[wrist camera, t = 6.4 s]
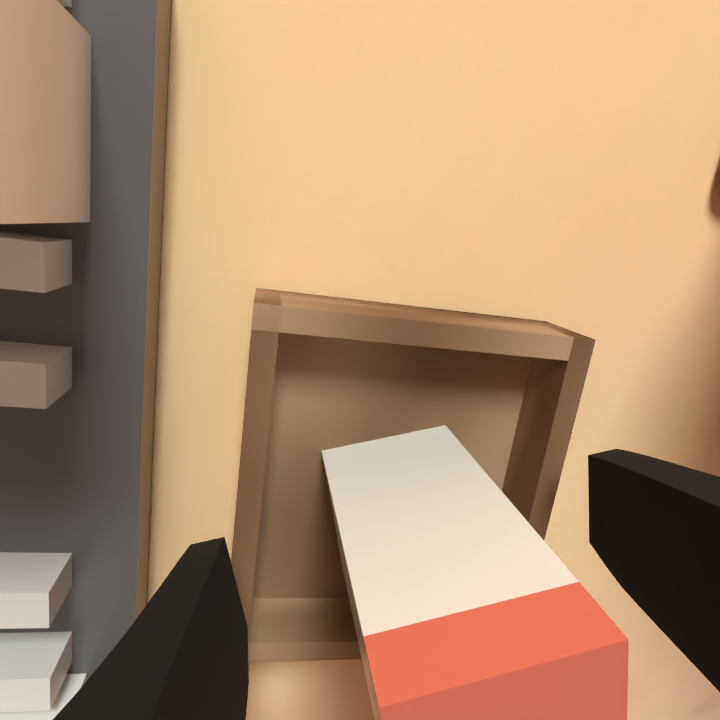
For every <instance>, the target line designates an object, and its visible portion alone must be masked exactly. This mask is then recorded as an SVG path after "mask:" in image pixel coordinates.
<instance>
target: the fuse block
mask: <svg viewBox="0 0 720 720" xmlns="http://www.w3.org/2000/svg"><path fill="white" fill-rule="evenodd" d="M57 1H58V2H59V3H60V4H61V5H62V6H63V7H64V8H65V9H66V10H67V11H68V12H69V13H70V14H71V15H72V16H73V17H74V18H75V19H76V21H77V22H78V23H79V24H80V25H81V26H82V27H83V28H84V29H85V30H86V31H87V32H88V33H89V34H90V35H91V159H90V222H73V223H27V224H0V713H2V712H25V711H47V710H51V708H52V706H53V703H54V701H55V699H56V697H57V694H58V692H59V690H60V688H61V685H62V683H63V681H64V679H65V676H66V674H86V673H87V680H88V679H89V678H90V676H91V675H92V674H93V673H94V671H95V670H96V669H97V668H98V667H99V665H100V664H101V663H102V662H103V660H104V659H105V658H106V657H107V656H108V654H109V653H110V652H111V651H112V649H113V648H114V647H115V646H116V644H117V643H118V642H119V641H120V640H121V638H122V637H123V636H124V635H125V633H126V632H127V631H128V629H129V628H130V627H131V625H132V624H133V623H134V621H135V620H136V619H137V617H138V616H139V615H140V613H141V612H142V611H143V609H144V608H145V607H146V604H147V580H148V556H149V532H150V507H151V483H152V459H153V435H154V410H155V386H156V362H157V338H158V314H159V289H160V265H161V241H162V217H163V193H164V168H165V144H166V120H167V96H168V71H169V47H170V23H171V0H57ZM87 680H86V681H87Z"/></svg>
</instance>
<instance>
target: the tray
mask: <svg viewBox="0 0 720 720" xmlns="http://www.w3.org/2000/svg"><path fill="white" fill-rule="evenodd" d="M594 344H595V340H594V339H592V338H589V337H586V336H583V335H581V334H578V333H575V332H573V331H570V330H567V329H565V328H562V327H559V326H557V325H554V324H551V323H549V322H546V321H537V320H529V319H520V318H511V317H502V316H494V315H485V314H476V313H468V312H459V311H450V310H441V309H433V308H424V307H415V306H407V305H398V304H389V303H380V302H372V301H363V300H354V299H346V298H337V297H328V296H320V295H311V294H302V293H293V292H285V291H276V290H267V289H259V288H256V294H255V299H254V307H253V319H252V330H251V342H250V353H249V365H248V376H247V388H246V399H245V411H244V422H243V434H242V445H241V457H240V468H239V479H238V491H237V502H236V514H235V525H234V537H233V548H232V560H231V565H232V569H233V572H234V576H235V580H236V584H237V588H238V592H239V596H240V599H241V603H242V607H243V611H244V615H245V619H246V623H247V626H248V662H270V661H304V660H339V659H362V658H361V653H360V648H359V644H358V639H357V634H356V629H355V625H354V620H353V615H352V610H351V606H350V601H349V596H348V591H347V587H346V582H345V577H344V572H343V568H342V563H341V558H340V552H339V547H338V541H337V535H336V530H335V524H334V518H333V513H332V507H331V502H330V496H329V490H328V485H327V479H326V474H325V468H324V462H323V457H322V450H327V449H332V448H337V447H342V446H347V445H352V444H357V443H361V442H366V441H371V440H376V439H381V438H386V437H391V436H396V435H400V434H405V433H410V432H415V431H420V430H425V429H430V428H435V427H440V426H444V425H446V426H447V428H448V429H449V430H450V431H451V432H452V433H453V435H454V436H455V437H456V438H457V439H458V441H459V442H460V443H461V444H462V445H463V446H464V448H465V449H466V450H467V451H468V452H469V453H470V455H471V456H472V457H473V458H474V459H475V460H476V462H477V463H478V464H479V465H480V466H481V468H482V469H483V470H484V471H485V472H486V473H487V475H488V476H489V477H490V478H491V479H492V480H493V482H494V483H495V484H496V485H497V486H498V487H499V489H500V490H501V491H502V492H503V493H504V495H505V496H506V497H507V498H508V499H509V500H510V502H511V503H512V504H513V505H514V506H515V507H516V509H517V510H518V511H519V512H520V513H521V514H522V516H523V517H524V518H525V519H526V520H527V521H528V523H529V524H530V525H531V526H532V527H533V529H534V530H535V531H536V532H537V533H538V534H539V536H540V537H541V538H542V539H543V540H544V538H545V534H546V530H547V526H548V523H549V519H550V515H551V511H552V507H553V503H554V499H555V495H556V491H557V488H558V484H559V480H560V476H561V472H562V468H563V464H564V460H565V456H566V453H567V449H568V445H569V441H570V437H571V433H572V429H573V425H574V421H575V417H576V414H577V410H578V406H579V402H580V398H581V394H582V390H583V386H584V382H585V379H586V375H587V371H588V367H589V363H590V359H591V355H592V351H593V347H594Z"/></svg>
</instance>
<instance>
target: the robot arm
mask: <svg viewBox="0 0 720 720" xmlns="http://www.w3.org/2000/svg"><path fill="white" fill-rule="evenodd" d="M588 470H589V542H590V544H591V545H592V547H593V548H594V549H595V551H596V552H597V554H598V555H599V557H600V558H601V559H602V561H603V562H604V564H605V565H606V567H607V568H608V569H609V571H610V572H611V573H612V575H613V576H614V577H615V579H616V580H617V581H618V583H619V584H620V585H621V587H622V588H623V589H624V590H625V591H626V592H627V593H628V594H629V595H630V597H631V598H632V599H633V600H634V601H635V602H636V603H637V604H638V605H639V606H640V607H641V609H642V610H643V611H644V612H645V613H646V614H647V615H648V616H649V617H650V618H651V619H652V620H653V622H654V623H655V624H656V625H657V626H658V627H659V628H660V629H661V630H662V631H663V632H664V633H665V634H666V635H667V636H668V637H669V639H670V640H671V641H672V642H673V643H674V644H675V645H676V646H677V647H678V648H679V649H680V650H681V651H682V652H683V653H684V654H685V656H686V657H687V658H688V659H689V660H690V661H691V662H692V663H693V664H694V665H695V666H696V667H697V668H698V669H699V670H700V672H701V673H702V674H703V675H704V676H705V677H706V678H707V679H708V680H709V681H710V682H711V683H712V684H713V685H714V686H715V687H716V689H717V690H718V691H719V692H720V477H717V476H714V475H710V474H707V473H704V472H700V471H697V470H694V469H690V468H687V467H684V466H680V465H677V464H674V463H670V462H667V461H663V460H660V459H656V458H653V457H649V456H645V455H642V454H638V453H634V452H629V451H624V450H619V449H614V450H609V451H605V452H600V453H596V454H592V455H588ZM248 685H249V677H248V626H247V623H246V619H245V615H244V611H243V607H242V603H241V599H240V596H239V592H238V588H237V584H236V580H235V576H234V572H233V569H232V565H231V561H230V557H229V553H228V549H227V545H226V542H225V538H224V537H223V538H218V539H214V540H209V541H205V542H200V543H196V544H192V545H190V546H189V547H188V549H187V550H186V551H185V553H184V554H183V556H182V557H181V558H180V560H179V561H178V562H177V564H176V565H175V566H174V568H173V569H172V571H171V572H170V573H169V575H168V576H167V578H166V579H165V580H164V582H163V583H162V585H161V586H160V587H159V589H158V590H157V592H156V593H155V594H154V596H153V597H152V598H151V600H150V601H149V603H148V604H147V605H146V607H145V608H144V609H143V611H142V612H141V613H140V615H139V616H138V617H137V619H136V620H135V621H134V623H133V624H132V625H131V627H130V628H129V629H128V631H127V632H126V633H125V635H124V636H123V637H122V638H121V640H120V641H119V642H118V643H117V644H116V646H115V647H114V648H113V649H112V651H111V652H110V653H109V654H108V656H107V657H106V658H105V659H104V660H103V662H102V663H101V664H100V665H99V667H98V668H97V669H96V670H95V671H94V673H93V674H92V675H91V676H90V678H89V679H88V680H87V681H86V682H85V684H84V685H83V686H82V687H81V688H80V690H79V691H78V692H77V693H76V694H75V695H74V696H73V698H72V699H71V700H70V701H69V702H68V703H67V704H66V705H65V706H64V708H63V709H62V710H61V711H60V712H59V713H58V714H57V715H56V716H55V718H54V719H53V720H245V719H246V708H247V697H248Z"/></svg>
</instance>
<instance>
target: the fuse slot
mask: <svg viewBox="0 0 720 720" xmlns="http://www.w3.org/2000/svg"><path fill="white" fill-rule="evenodd" d="M86 680H87V673H86V674H66V676H65V679H64V681H63V683H62V685H61V688H60V690H59V692H58V694H57V697H56V699H55V701H54V703H53V706H52V708H51V710H47V711H25V712H2V713H0V720H53V719H54V718H55V716H56V715H57V714H58V713H59V712H60V711H61V710H62V709H63V708H64V706H65V705H66V704H67V703H68V702H69V701H70V700H71V699H72V698H73V696H74V695H75V694H76V693H77V692H78V691H79V690H80V688H81V687H82V686H83V685H84V684H85V682H86Z"/></svg>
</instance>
